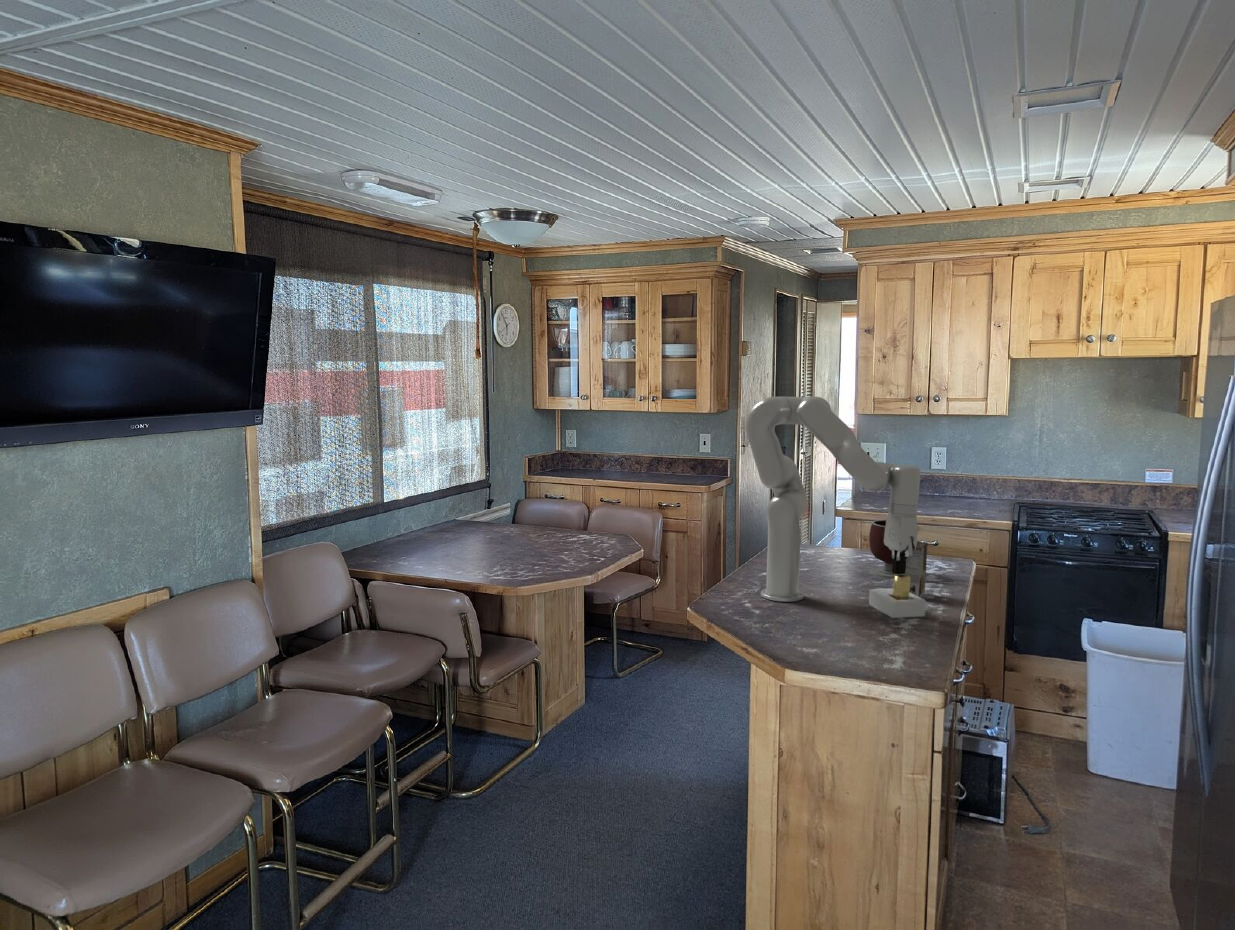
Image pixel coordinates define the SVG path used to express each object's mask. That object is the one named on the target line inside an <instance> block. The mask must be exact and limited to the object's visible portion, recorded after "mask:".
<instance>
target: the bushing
mask: <svg viewBox="0 0 1235 930" xmlns="http://www.w3.org/2000/svg"><path fill="white" fill-rule="evenodd" d="M892 588H893V598H894V599H896V600H907V599H909V591H910V576H909V575H905V574H895V575H894V578H893V585H892Z"/></svg>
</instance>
